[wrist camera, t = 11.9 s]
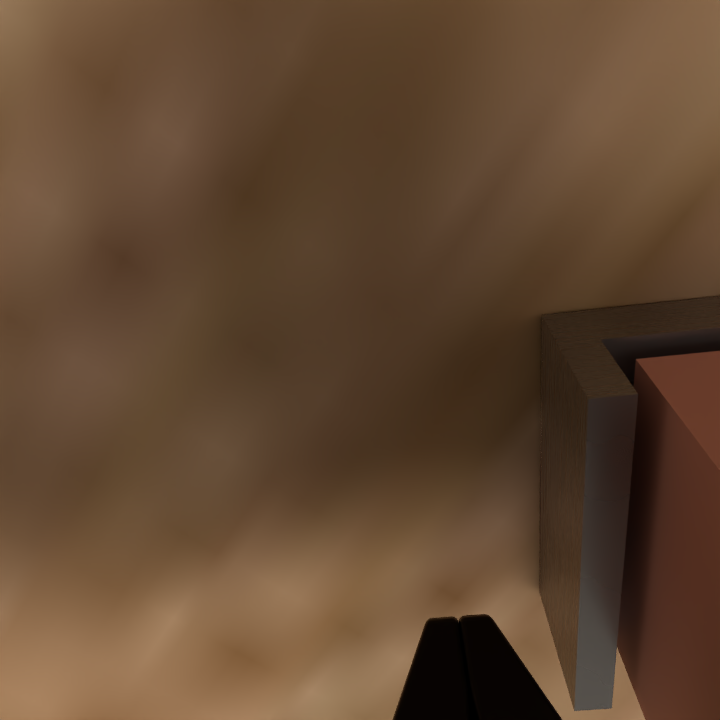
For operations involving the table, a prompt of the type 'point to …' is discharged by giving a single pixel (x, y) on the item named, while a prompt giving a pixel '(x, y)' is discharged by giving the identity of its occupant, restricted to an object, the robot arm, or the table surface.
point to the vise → (597, 469)
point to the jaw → (674, 540)
